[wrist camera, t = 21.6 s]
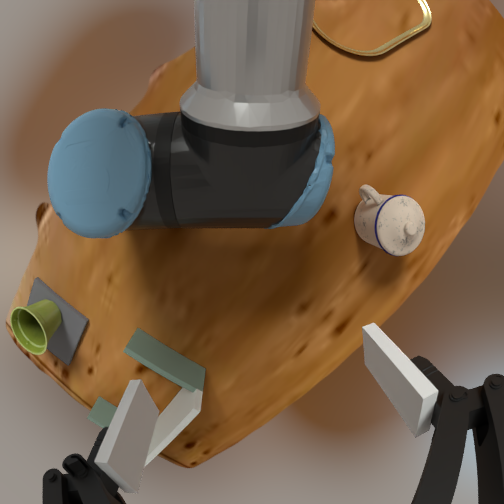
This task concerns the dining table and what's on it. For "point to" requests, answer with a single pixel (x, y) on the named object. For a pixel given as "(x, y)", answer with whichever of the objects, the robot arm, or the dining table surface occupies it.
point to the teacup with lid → (389, 221)
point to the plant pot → (35, 325)
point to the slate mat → (71, 324)
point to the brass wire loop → (390, 44)
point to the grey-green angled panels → (171, 368)
